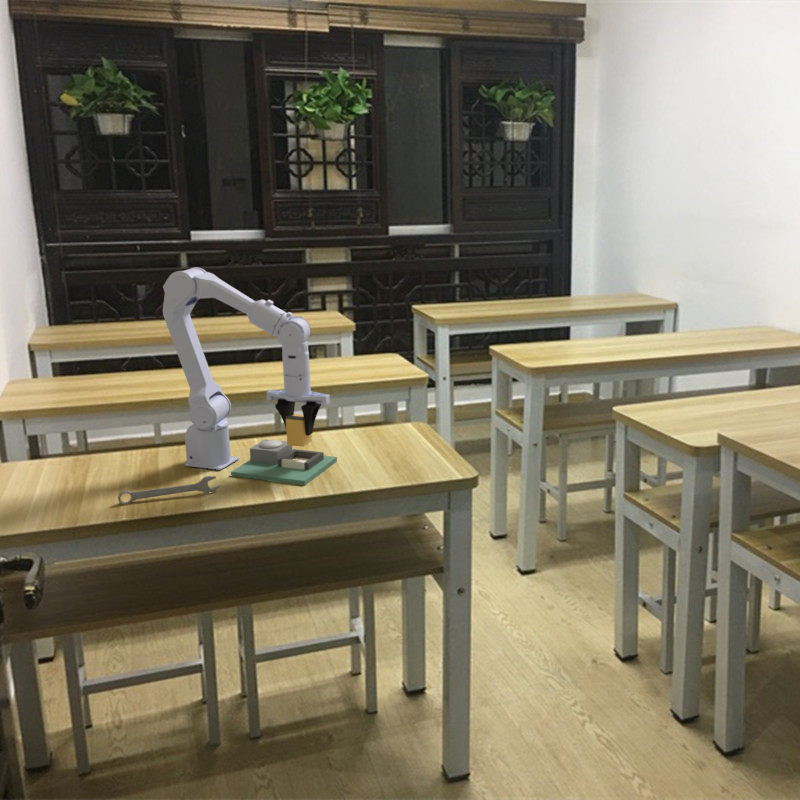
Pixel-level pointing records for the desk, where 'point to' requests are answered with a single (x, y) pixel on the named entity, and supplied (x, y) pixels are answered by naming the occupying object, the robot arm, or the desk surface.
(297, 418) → the plug
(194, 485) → the combination wrench
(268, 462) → the board
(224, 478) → the desk surface
